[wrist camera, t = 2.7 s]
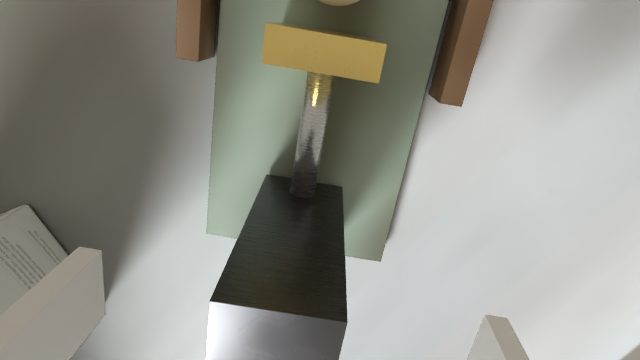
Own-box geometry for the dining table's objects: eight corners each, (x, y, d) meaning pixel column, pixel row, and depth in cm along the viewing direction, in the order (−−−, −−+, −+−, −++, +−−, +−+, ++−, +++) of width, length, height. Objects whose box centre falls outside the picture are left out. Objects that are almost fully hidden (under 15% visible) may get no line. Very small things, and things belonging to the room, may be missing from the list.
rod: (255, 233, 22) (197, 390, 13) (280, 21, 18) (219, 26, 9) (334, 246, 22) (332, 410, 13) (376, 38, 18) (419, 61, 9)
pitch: (187, 219, 24) (167, 246, 21) (205, -257, 16) (177, -316, 13) (403, 254, 24) (411, 285, 21) (530, -194, 16) (571, -239, 13)
